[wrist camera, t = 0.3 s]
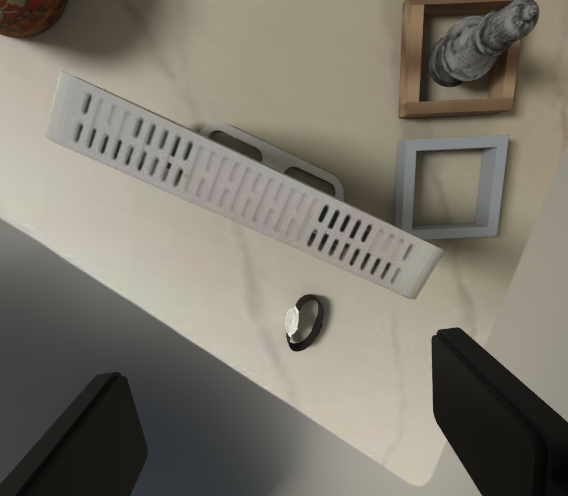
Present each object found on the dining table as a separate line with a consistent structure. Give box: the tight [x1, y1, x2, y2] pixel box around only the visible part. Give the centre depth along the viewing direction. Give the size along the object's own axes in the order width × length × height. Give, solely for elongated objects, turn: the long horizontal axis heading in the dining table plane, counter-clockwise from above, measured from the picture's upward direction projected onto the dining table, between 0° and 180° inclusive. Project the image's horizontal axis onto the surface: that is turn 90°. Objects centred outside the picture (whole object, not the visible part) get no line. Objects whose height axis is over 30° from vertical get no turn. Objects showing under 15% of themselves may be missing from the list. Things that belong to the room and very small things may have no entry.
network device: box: [44, 71, 444, 299], centre depth 28 cm, size 26×9×20 cm, turn 65°
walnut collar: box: [399, 0, 521, 118], centre depth 34 cm, size 11×11×2 cm
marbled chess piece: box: [428, 0, 539, 87], centre depth 29 cm, size 6×6×12 cm
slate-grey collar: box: [394, 135, 509, 240], centre depth 37 cm, size 11×11×2 cm
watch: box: [285, 295, 323, 351], centre depth 41 cm, size 8×5×4 cm, turn 163°
